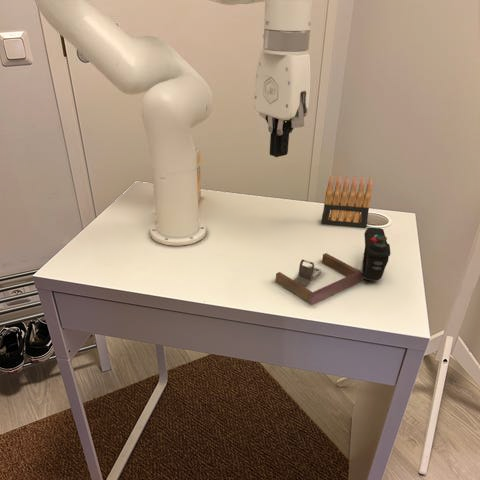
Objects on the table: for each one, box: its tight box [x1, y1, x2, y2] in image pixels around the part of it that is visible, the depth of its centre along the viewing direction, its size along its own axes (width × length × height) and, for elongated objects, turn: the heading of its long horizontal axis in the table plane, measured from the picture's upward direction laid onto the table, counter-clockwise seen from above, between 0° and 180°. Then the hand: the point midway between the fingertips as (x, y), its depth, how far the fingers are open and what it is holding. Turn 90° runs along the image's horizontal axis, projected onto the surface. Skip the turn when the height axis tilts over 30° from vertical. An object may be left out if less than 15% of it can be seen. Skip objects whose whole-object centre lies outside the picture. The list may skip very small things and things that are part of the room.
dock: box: [275, 252, 364, 306], centre depth 92 cm, size 10×14×2 cm
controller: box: [361, 227, 391, 282], centre depth 92 cm, size 4×12×10 cm, turn 171°
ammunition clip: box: [320, 174, 373, 229], centre depth 110 cm, size 11×2×12 cm, turn 81°
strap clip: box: [293, 259, 322, 288], centre depth 91 cm, size 8×3×4 cm, turn 146°
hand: (278, 154), depth 88 cm, fingers closed
